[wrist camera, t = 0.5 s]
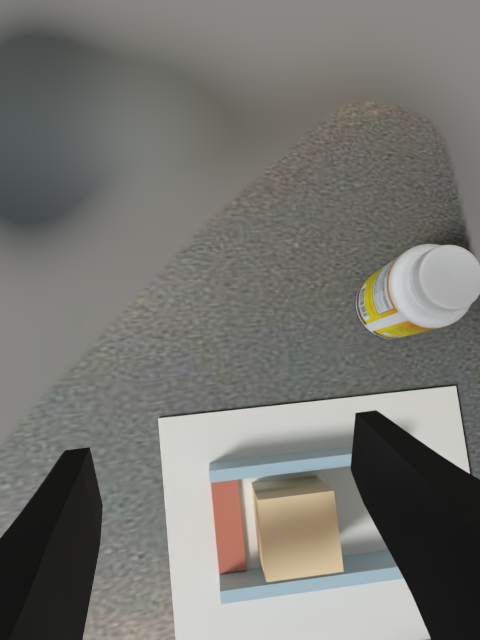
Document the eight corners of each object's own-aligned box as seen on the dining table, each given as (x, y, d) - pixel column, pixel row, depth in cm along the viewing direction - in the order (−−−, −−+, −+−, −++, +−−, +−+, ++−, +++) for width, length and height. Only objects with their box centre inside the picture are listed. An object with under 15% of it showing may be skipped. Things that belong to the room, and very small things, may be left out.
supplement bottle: (434, 309, 38) (516, 282, 27) (385, 353, 37) (451, 342, 27) (388, 258, 38) (453, 213, 28) (339, 300, 37) (387, 270, 27)
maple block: (324, 544, 34) (343, 571, 29) (258, 553, 34) (266, 582, 29) (316, 475, 35) (333, 490, 30) (251, 483, 34) (257, 500, 30)
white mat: (492, 626, 35) (495, 628, 34) (178, 673, 33) (178, 676, 32) (453, 385, 37) (456, 385, 36) (158, 418, 35) (158, 418, 35)
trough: (393, 560, 34) (410, 577, 31) (220, 584, 33) (221, 604, 30) (377, 443, 35) (392, 449, 33) (209, 463, 34) (208, 470, 32)
